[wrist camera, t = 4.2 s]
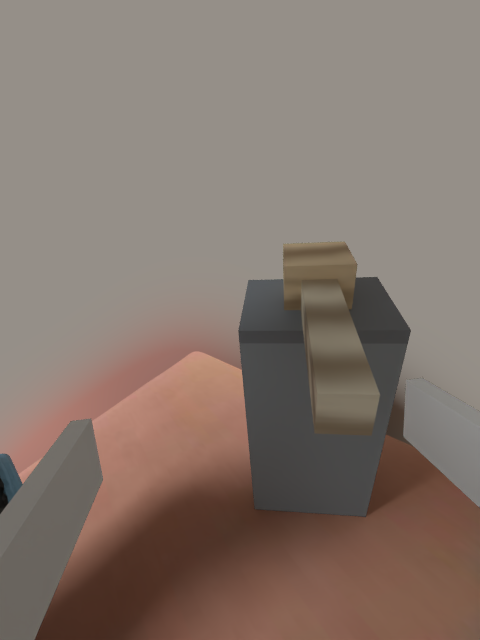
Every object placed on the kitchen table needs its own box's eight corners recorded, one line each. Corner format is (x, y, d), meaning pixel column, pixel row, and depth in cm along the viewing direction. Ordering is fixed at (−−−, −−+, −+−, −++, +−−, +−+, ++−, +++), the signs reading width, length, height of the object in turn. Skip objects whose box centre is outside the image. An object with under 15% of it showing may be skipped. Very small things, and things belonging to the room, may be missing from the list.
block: (400, 436, 20) (418, 375, 17) (287, 432, 21) (287, 373, 18) (340, 281, 39) (344, 241, 37) (283, 282, 40) (283, 243, 38)
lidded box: (253, 509, 48) (236, 330, 31) (258, 439, 59) (247, 278, 42) (367, 516, 46) (413, 330, 29) (350, 443, 56) (377, 275, 40)
